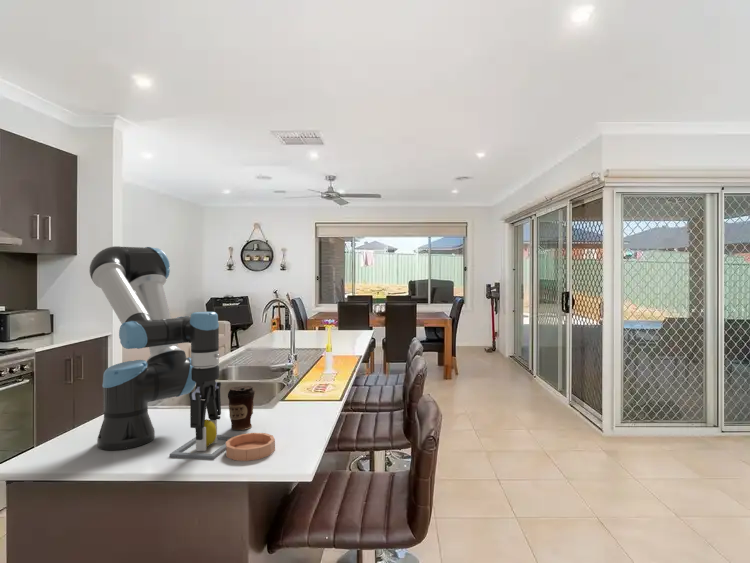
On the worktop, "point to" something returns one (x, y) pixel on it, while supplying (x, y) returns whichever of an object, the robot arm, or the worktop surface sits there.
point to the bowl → (250, 446)
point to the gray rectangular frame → (215, 454)
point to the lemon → (210, 432)
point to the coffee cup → (241, 407)
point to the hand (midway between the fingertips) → (206, 446)
